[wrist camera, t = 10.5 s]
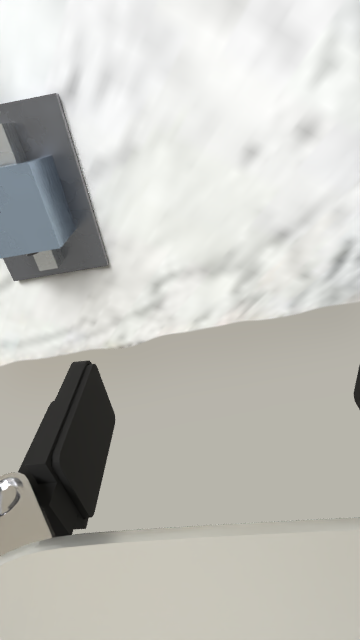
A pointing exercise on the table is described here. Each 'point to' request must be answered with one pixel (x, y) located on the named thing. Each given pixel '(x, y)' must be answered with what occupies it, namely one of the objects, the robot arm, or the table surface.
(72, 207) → the rail
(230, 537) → the robot arm
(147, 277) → the table surface
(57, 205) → the blue-grey slotted block
